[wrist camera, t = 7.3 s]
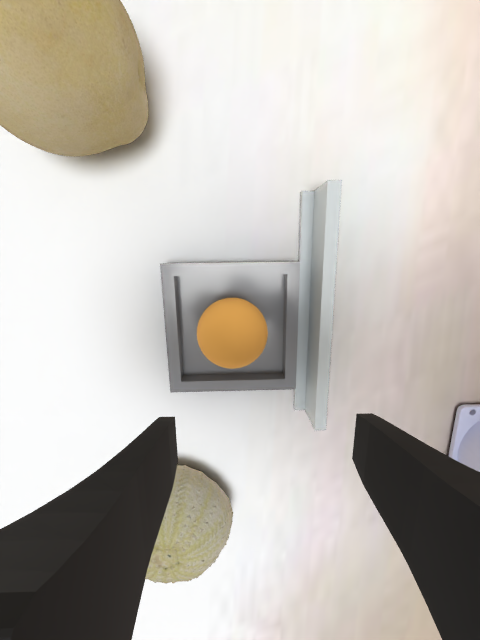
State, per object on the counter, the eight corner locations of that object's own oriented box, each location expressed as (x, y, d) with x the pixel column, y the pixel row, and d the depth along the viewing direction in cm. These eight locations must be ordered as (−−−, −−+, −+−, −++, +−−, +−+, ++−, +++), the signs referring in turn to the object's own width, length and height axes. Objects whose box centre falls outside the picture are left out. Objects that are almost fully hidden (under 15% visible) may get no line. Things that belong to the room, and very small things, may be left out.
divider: (336, 192, 18) (355, 179, 15) (323, 406, 22) (337, 429, 19) (300, 192, 18) (313, 180, 15) (293, 407, 22) (303, 430, 19)
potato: (30, 23, 16) (-166, -203, 8) (166, 46, 16) (104, -148, 8) (35, 165, 18) (-123, 92, 10) (158, 183, 18) (101, 125, 10)
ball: (263, 292, 19) (273, 303, 15) (262, 353, 20) (272, 380, 16) (199, 293, 19) (190, 304, 15) (201, 354, 20) (194, 382, 16)
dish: (294, 261, 19) (300, 261, 18) (290, 378, 21) (295, 389, 20) (166, 263, 19) (160, 263, 17) (175, 381, 21) (170, 392, 19)
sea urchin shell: (87, 491, 21) (130, 553, 15) (173, 430, 26) (228, 460, 21) (126, 578, 23) (177, 661, 17) (198, 505, 28) (255, 551, 23)
